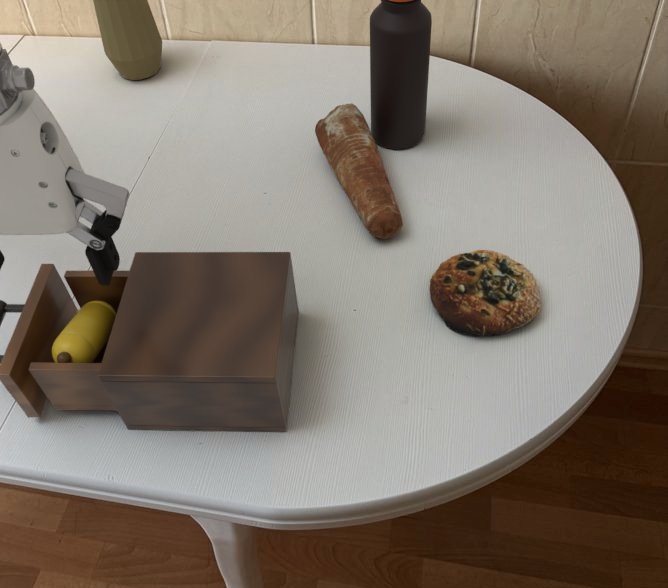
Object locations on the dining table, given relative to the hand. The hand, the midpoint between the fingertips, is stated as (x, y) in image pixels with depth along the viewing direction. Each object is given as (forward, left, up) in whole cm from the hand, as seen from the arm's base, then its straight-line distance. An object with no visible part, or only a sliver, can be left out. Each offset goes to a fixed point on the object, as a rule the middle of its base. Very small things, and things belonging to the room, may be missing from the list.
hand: (52, 272), depth 58 cm
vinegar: (+29, +36, -13) cm, 48 cm away
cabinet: (+12, 0, -13) cm, 17 cm away
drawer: (-1, 0, -12) cm, 12 cm away
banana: (0, -1, -10) cm, 10 cm away
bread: (+25, +26, -13) cm, 38 cm away
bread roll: (+38, +9, -13) cm, 41 cm away
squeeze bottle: (-7, +52, -13) cm, 54 cm away
